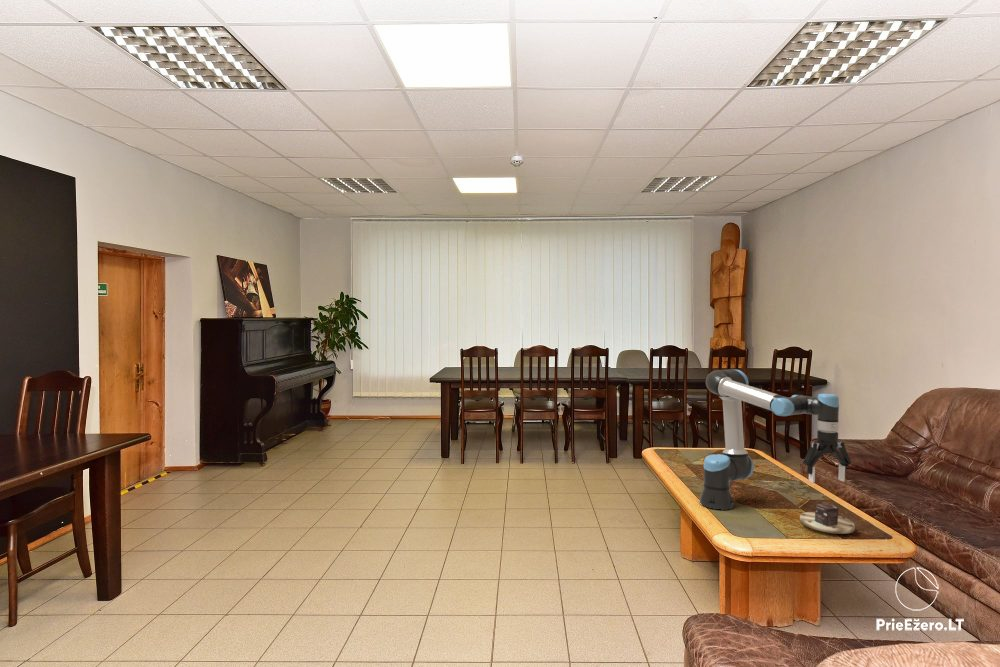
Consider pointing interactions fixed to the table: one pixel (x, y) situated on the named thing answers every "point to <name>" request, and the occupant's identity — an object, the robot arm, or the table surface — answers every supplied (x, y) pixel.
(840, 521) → the turntable
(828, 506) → the box
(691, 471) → the table surface
